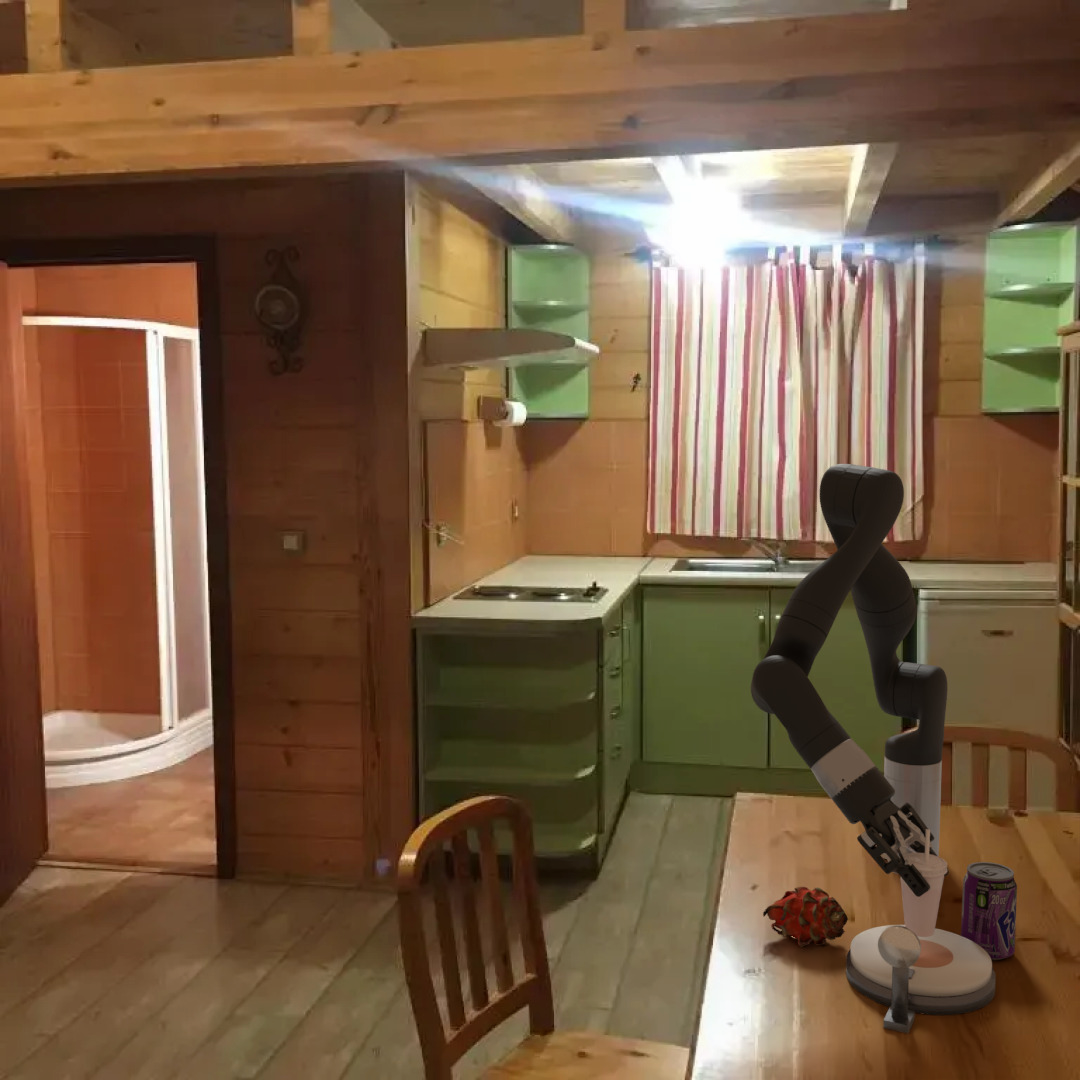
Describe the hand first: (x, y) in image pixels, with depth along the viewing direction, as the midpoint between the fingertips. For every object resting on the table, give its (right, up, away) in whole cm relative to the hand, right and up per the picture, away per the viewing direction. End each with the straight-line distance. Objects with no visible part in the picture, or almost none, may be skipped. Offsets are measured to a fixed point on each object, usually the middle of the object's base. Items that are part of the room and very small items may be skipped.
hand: (934, 884), depth 162 cm
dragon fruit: (-14, -12, +14) cm, 24 cm away
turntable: (-1, -11, +2) cm, 12 cm away
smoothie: (-1, -7, +2) cm, 7 cm away
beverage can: (+11, -13, +11) cm, 20 cm away
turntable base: (-1, -13, +3) cm, 14 cm away
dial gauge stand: (-7, -15, -9) cm, 19 cm away
